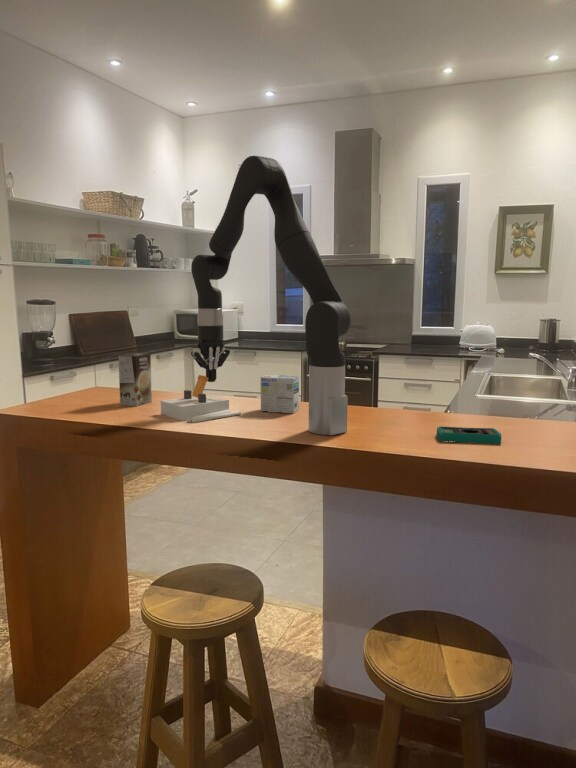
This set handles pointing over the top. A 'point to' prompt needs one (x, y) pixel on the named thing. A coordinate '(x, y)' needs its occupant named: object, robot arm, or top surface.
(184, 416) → the box
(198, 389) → the lever
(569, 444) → the top surface
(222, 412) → the pale grey thin bar
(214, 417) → the light grey rod
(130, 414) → the top surface
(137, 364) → the coffee box
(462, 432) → the digital multimeter
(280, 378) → the light bulb box
